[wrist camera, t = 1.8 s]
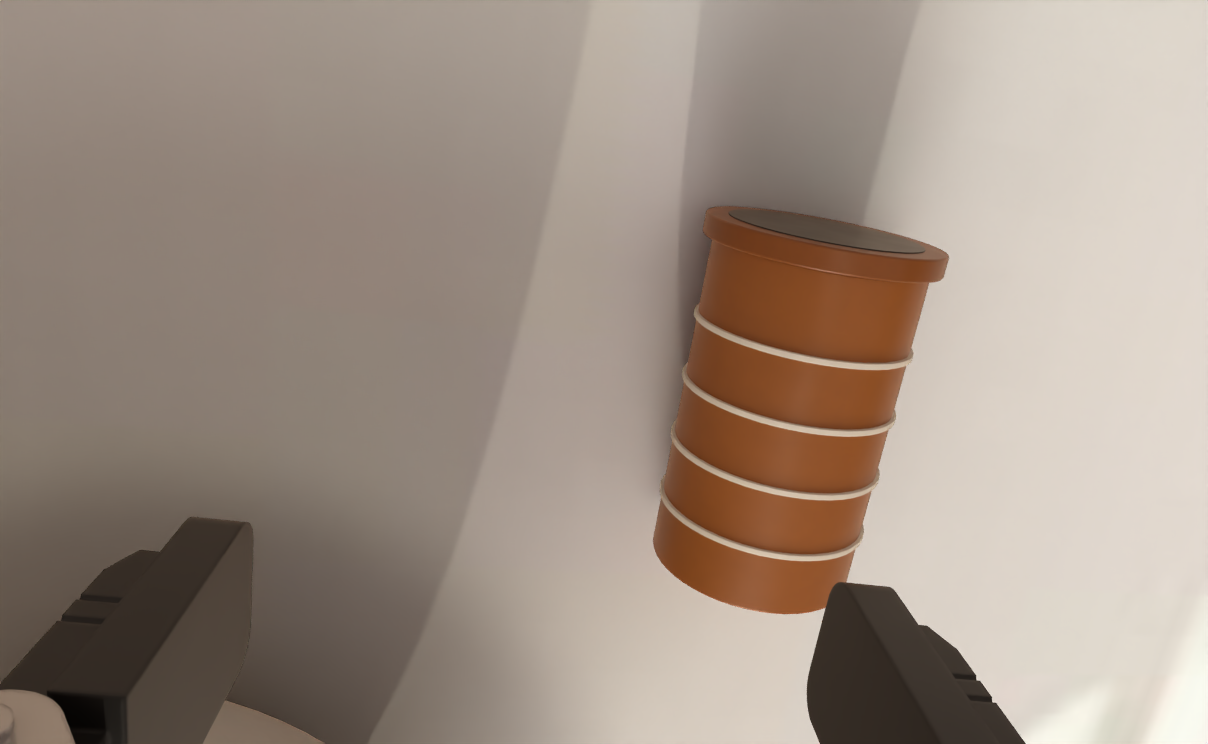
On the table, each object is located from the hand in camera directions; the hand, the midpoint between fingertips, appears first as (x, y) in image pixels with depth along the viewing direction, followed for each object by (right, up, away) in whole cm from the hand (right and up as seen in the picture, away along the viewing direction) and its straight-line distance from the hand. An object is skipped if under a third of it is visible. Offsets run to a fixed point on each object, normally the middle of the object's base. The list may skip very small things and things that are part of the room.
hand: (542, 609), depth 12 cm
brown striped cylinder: (+6, +3, +16) cm, 17 cm away
